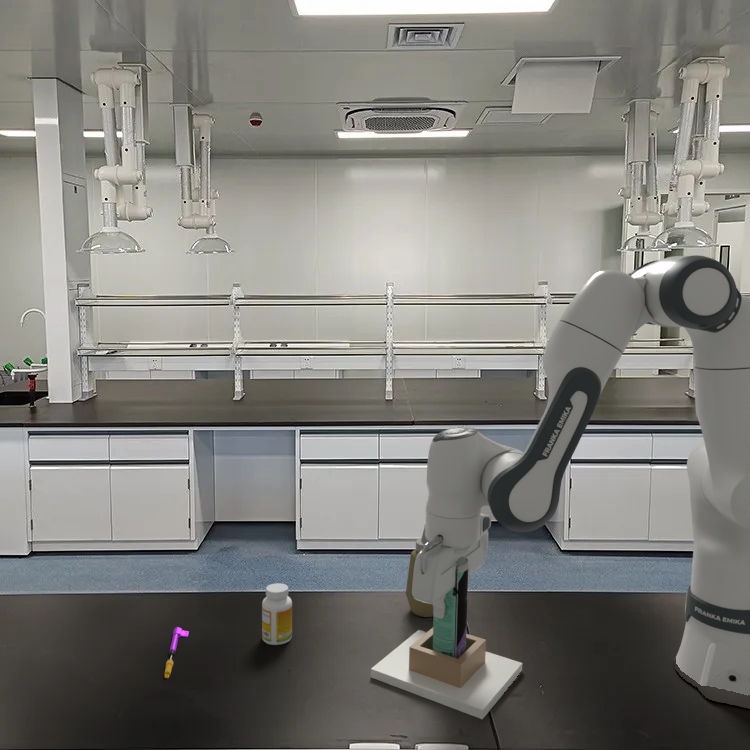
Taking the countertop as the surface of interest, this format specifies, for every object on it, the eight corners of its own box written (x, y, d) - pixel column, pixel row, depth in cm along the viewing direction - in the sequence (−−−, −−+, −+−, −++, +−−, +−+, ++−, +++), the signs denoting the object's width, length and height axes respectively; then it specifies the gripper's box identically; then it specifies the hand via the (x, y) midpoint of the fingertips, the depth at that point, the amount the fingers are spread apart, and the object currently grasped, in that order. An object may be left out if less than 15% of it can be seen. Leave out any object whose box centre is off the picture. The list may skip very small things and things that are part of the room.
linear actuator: (173, 631, 132) (162, 680, 116) (175, 625, 132) (163, 673, 116) (188, 633, 132) (178, 682, 117) (189, 627, 132) (180, 676, 117)
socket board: (521, 671, 120) (523, 640, 120) (482, 719, 107) (483, 685, 106) (418, 637, 131) (419, 609, 130) (370, 677, 118) (371, 645, 117)
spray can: (471, 666, 117) (474, 549, 114) (440, 672, 115) (443, 553, 113) (456, 650, 122) (459, 537, 120) (427, 655, 120) (429, 541, 118)
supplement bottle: (294, 632, 132) (295, 582, 131) (288, 647, 127) (288, 595, 126) (266, 630, 133) (266, 580, 132) (258, 644, 128) (258, 593, 126)
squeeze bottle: (399, 605, 144) (401, 519, 142) (435, 599, 147) (438, 515, 144) (415, 623, 136) (417, 532, 134) (453, 617, 139) (456, 528, 137)
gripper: (439, 551, 105) (437, 639, 107) (495, 514, 122) (492, 591, 124) (403, 542, 109) (401, 628, 111) (462, 507, 126) (459, 582, 128)
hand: (449, 608), depth 118 cm, fingers closed on spray can, 5 cm apart
